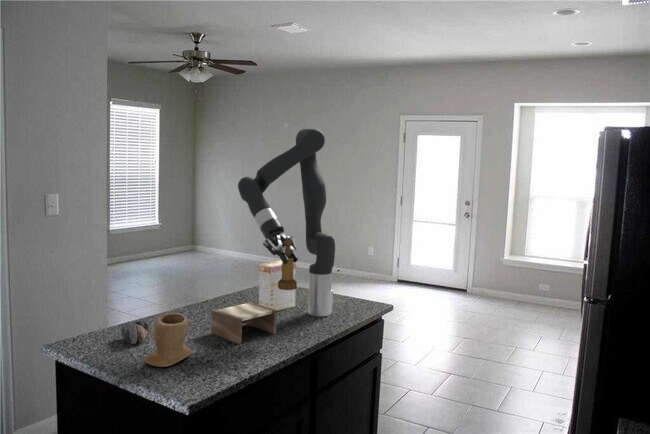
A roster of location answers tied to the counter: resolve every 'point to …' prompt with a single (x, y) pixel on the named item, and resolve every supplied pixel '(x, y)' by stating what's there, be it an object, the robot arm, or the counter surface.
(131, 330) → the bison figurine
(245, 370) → the counter surface
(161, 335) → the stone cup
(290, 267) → the brown wooden pepper mill
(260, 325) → the brown upright panels
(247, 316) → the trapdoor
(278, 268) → the coffeecake box
